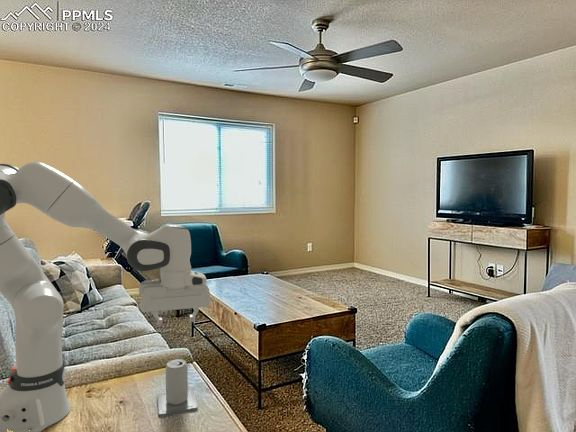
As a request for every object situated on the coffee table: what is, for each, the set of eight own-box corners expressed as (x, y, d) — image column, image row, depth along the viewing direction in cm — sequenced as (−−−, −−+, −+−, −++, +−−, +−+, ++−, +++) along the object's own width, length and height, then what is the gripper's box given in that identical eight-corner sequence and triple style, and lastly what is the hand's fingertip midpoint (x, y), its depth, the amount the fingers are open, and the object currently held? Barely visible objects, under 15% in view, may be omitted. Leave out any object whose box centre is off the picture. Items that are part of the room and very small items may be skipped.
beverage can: (185, 406, 117) (185, 367, 116) (163, 406, 117) (163, 368, 116) (189, 394, 124) (189, 357, 122) (168, 394, 123) (168, 358, 122)
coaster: (158, 416, 113) (158, 413, 113) (157, 396, 124) (157, 393, 124) (197, 409, 117) (197, 406, 117) (193, 390, 127) (193, 387, 127)
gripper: (138, 283, 110) (139, 330, 112) (211, 278, 117) (211, 323, 119) (138, 277, 116) (139, 322, 118) (208, 273, 123) (208, 316, 125)
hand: (176, 323), depth 118 cm, fingers open, 8 cm apart
